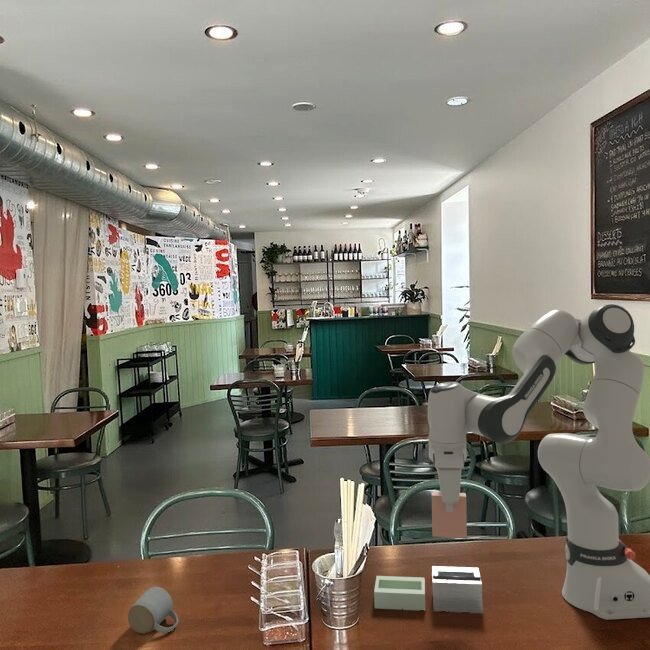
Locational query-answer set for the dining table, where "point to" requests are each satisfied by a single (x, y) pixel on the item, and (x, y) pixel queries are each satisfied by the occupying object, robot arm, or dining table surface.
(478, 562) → the dining table surface
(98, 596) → the dining table surface
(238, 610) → the dining table surface
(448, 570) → the dispenser
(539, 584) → the dining table surface
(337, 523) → the wineglass
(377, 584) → the stand
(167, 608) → the ceramic mug
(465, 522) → the ticket
